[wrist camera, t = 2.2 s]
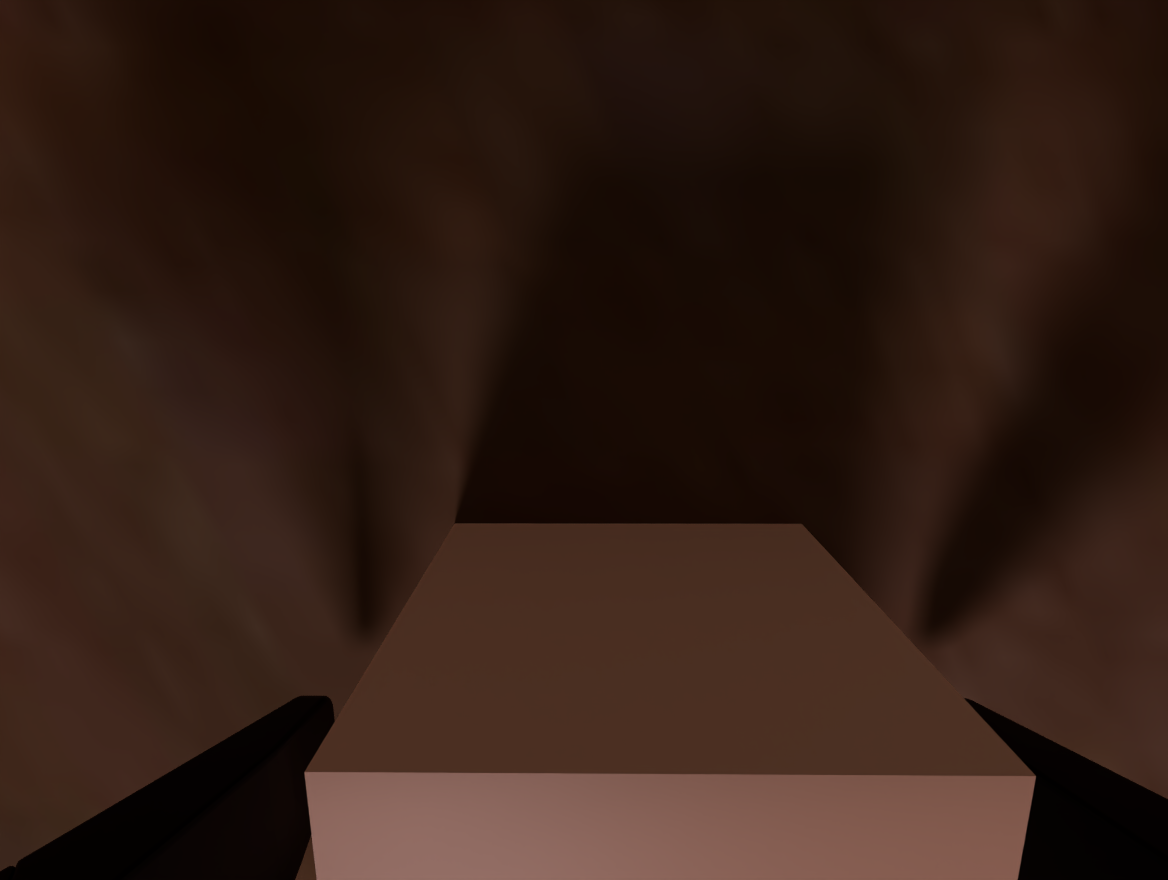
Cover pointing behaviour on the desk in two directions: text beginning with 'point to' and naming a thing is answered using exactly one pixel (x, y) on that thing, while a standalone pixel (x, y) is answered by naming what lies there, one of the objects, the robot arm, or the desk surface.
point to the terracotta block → (657, 722)
